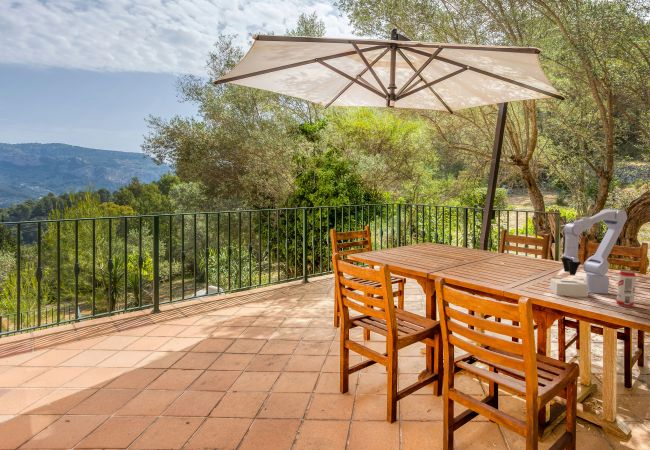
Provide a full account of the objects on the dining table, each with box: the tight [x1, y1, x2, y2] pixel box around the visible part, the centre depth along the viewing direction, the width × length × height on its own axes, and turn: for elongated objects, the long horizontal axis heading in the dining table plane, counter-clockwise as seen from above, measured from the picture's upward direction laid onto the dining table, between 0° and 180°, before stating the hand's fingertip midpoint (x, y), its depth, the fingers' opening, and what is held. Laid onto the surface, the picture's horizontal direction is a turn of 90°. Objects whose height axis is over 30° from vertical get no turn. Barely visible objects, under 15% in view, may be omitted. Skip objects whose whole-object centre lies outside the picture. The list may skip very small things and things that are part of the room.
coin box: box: [549, 278, 589, 298], centre depth 198 cm, size 14×10×6 cm
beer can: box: [615, 269, 637, 308], centre depth 178 cm, size 6×6×16 cm
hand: (569, 273), depth 198 cm, fingers open, 7 cm apart
